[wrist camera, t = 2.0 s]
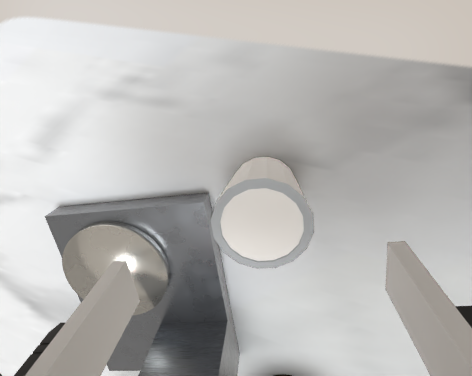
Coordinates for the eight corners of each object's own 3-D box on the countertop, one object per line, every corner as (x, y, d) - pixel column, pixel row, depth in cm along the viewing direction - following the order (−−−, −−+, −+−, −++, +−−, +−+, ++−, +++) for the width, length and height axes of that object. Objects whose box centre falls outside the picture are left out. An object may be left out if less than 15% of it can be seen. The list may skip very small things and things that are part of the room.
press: (208, 192, 27) (151, 308, 14) (239, 354, 34) (220, 527, 22) (59, 206, 30) (-106, 317, 17) (117, 355, 37) (34, 512, 24)
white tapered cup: (320, 193, 26) (336, 235, 20) (258, 235, 28) (254, 285, 22) (270, 132, 25) (269, 156, 18) (209, 181, 27) (189, 219, 20)
